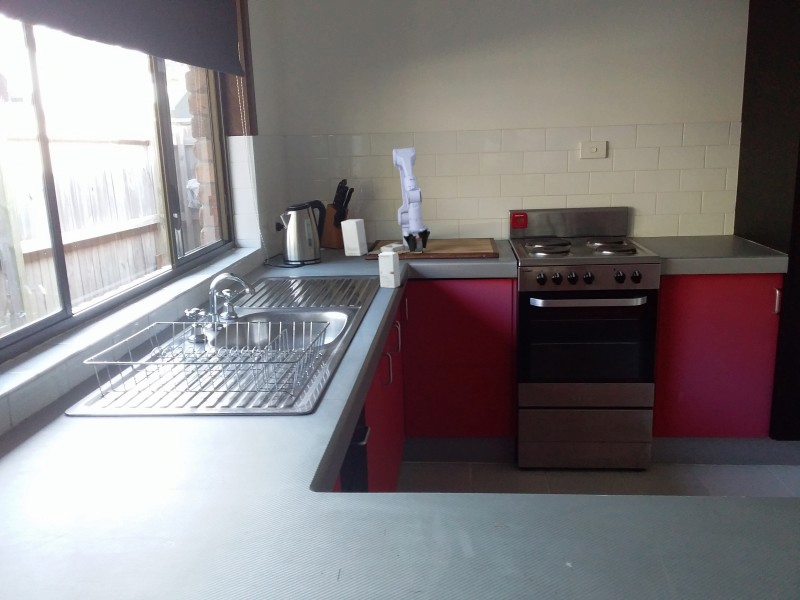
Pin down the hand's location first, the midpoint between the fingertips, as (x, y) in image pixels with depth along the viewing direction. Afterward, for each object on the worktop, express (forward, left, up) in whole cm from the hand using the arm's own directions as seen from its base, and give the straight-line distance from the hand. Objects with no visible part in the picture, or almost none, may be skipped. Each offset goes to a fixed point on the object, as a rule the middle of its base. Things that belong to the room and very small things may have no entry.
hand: (418, 249), depth 300 cm
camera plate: (+2, -13, -2) cm, 13 cm away
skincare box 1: (+11, -27, -2) cm, 29 cm away
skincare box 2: (+50, +29, -2) cm, 58 cm away
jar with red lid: (0, 0, -2) cm, 2 cm away
